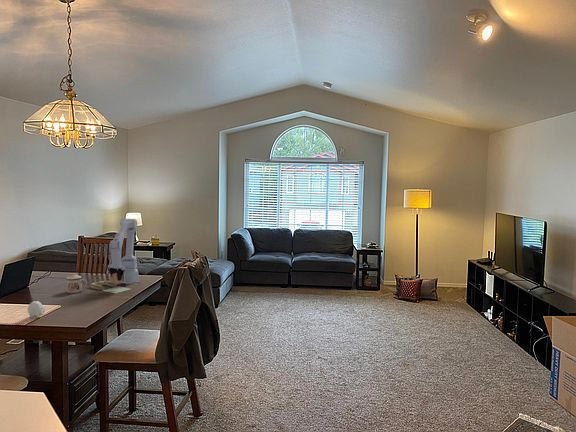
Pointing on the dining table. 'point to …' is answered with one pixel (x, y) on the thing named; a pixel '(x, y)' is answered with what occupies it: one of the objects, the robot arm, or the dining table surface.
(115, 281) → the terracotta jug
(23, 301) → the dining table surface
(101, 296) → the dining table surface
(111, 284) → the frame
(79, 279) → the teacup with lid
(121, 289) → the felt mat
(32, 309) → the white lumpy piece
